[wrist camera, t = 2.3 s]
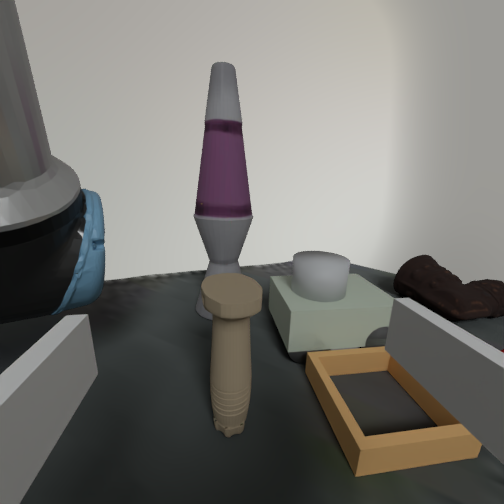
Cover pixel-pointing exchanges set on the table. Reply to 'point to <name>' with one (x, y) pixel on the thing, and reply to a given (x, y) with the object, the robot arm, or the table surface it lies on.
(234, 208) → the lamp
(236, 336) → the handle
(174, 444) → the table surface
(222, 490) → the table surface
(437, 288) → the dark brown irregular lump
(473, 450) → the grey and tan pieces
